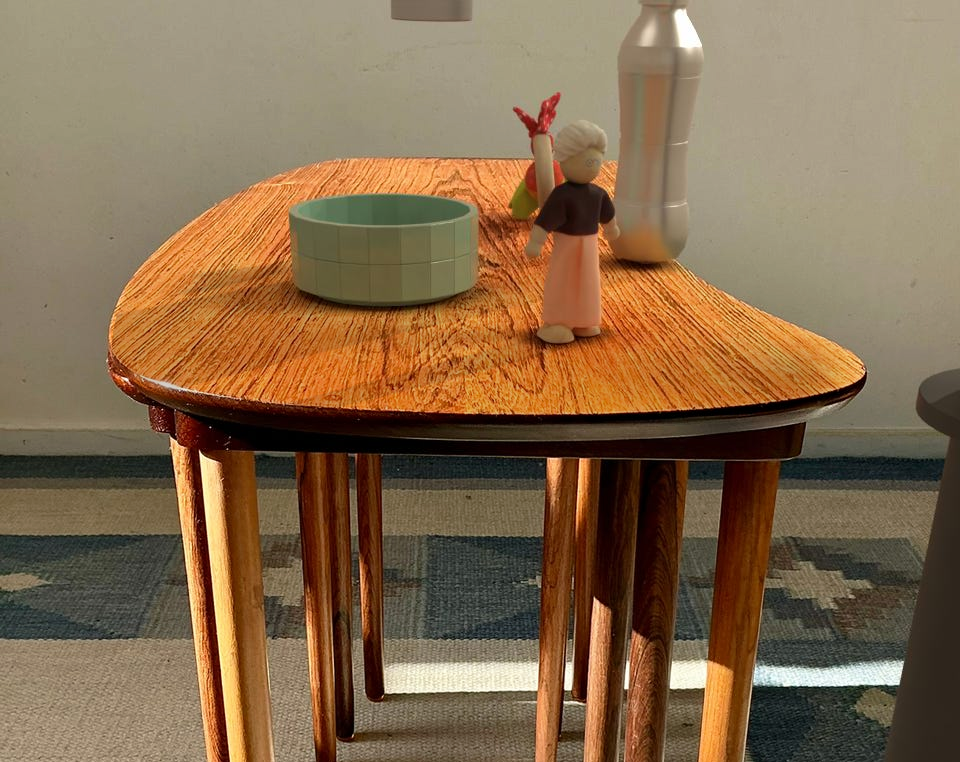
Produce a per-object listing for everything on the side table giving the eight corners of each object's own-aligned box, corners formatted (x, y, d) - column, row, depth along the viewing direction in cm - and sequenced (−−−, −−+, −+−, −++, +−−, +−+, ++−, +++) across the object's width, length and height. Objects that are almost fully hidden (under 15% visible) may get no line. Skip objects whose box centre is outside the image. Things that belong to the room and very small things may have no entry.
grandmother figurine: (564, 351, 74) (574, 128, 68) (513, 341, 76) (518, 122, 70) (630, 326, 80) (644, 116, 74) (580, 316, 82) (591, 112, 76)
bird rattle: (582, 251, 110) (571, 193, 116) (595, 137, 101) (583, 80, 107) (513, 252, 110) (505, 194, 115) (520, 137, 101) (511, 80, 106)
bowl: (496, 274, 93) (497, 198, 90) (449, 317, 81) (449, 231, 79) (331, 263, 95) (328, 189, 93) (265, 303, 84) (259, 220, 82)
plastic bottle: (676, 252, 100) (700, -25, 91) (694, 270, 94) (721, -23, 85) (598, 252, 100) (613, -25, 90) (611, 271, 94) (629, -24, 84)
